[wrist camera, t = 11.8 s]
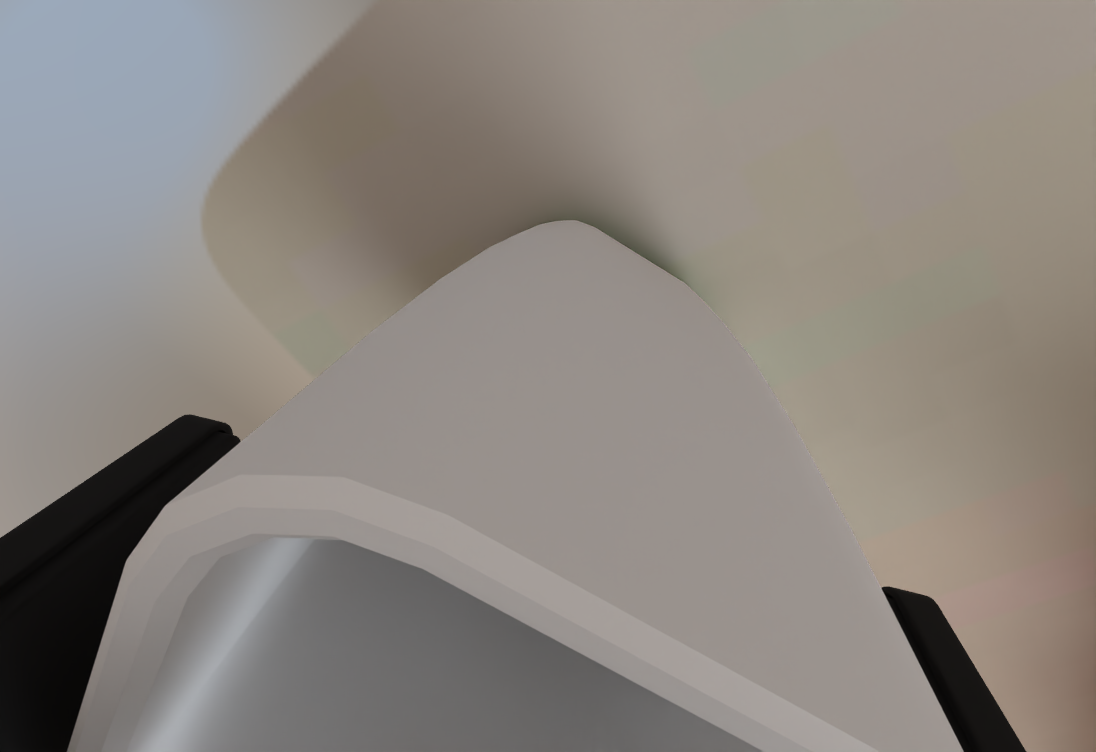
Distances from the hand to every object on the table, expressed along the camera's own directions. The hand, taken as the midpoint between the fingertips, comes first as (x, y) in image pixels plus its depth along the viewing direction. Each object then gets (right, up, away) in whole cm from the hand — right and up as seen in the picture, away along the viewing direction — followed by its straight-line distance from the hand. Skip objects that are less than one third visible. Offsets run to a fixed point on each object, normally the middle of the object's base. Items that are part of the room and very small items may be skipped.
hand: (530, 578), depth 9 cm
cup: (+2, +5, +10) cm, 11 cm away
